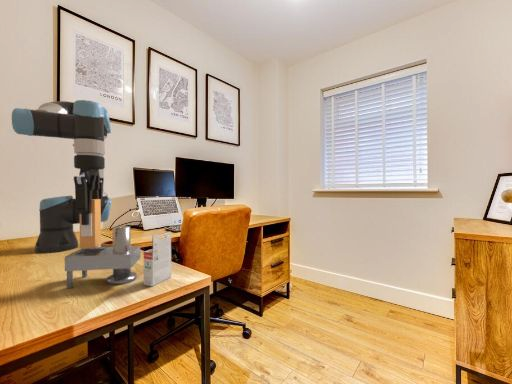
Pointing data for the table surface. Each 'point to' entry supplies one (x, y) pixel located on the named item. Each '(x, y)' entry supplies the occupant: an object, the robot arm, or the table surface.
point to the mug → (107, 244)
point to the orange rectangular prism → (96, 221)
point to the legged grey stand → (106, 259)
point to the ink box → (158, 260)
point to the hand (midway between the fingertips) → (90, 234)
